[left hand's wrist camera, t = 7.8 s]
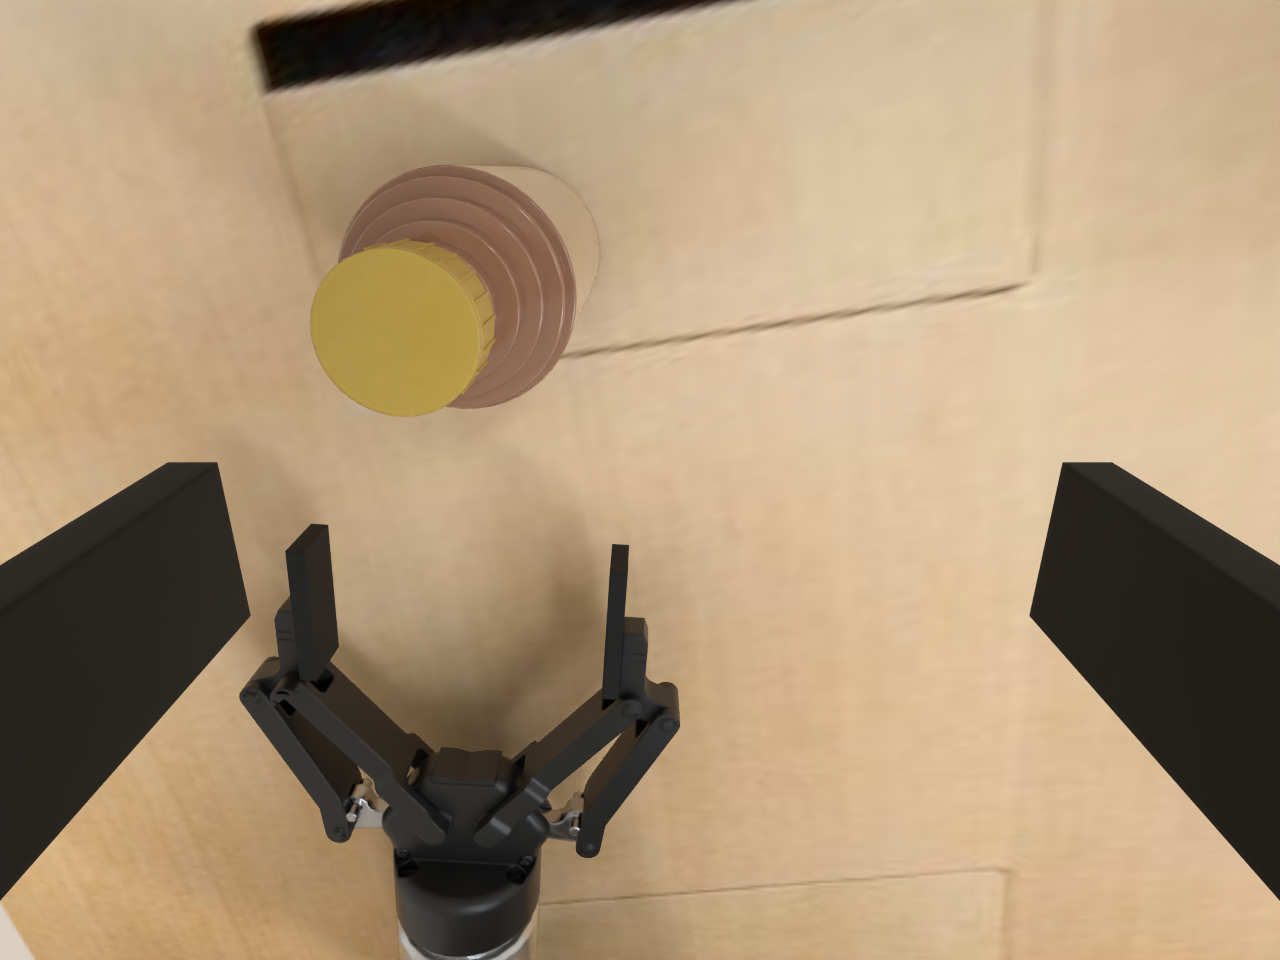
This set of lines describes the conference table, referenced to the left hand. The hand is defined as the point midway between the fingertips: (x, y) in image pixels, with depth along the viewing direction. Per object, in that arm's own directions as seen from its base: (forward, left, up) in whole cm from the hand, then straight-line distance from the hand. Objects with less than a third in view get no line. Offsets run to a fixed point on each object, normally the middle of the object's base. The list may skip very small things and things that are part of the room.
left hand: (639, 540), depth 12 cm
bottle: (+1, -6, -25) cm, 26 cm away
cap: (+1, -6, -6) cm, 9 cm away
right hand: (+12, -2, -19) cm, 23 cm away
